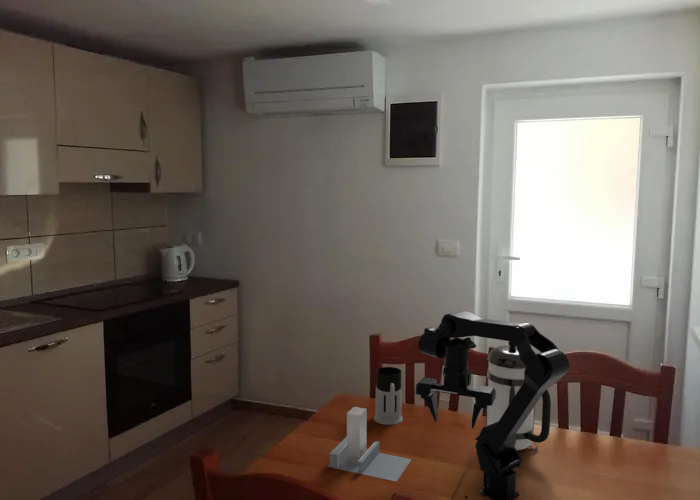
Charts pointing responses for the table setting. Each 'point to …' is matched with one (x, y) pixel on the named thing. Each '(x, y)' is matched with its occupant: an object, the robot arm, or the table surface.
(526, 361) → the robot arm
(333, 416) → the table surface
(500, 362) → the coffee press
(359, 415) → the aluminium bar
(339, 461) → the vise
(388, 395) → the glass holder
